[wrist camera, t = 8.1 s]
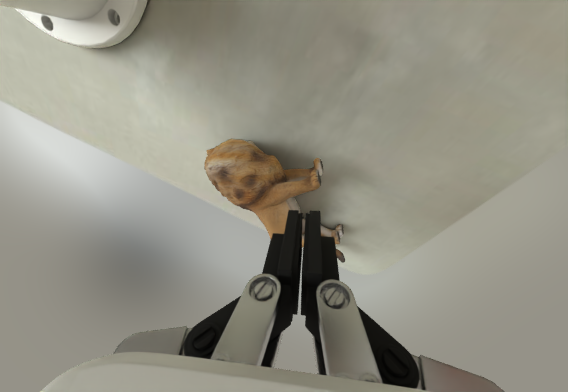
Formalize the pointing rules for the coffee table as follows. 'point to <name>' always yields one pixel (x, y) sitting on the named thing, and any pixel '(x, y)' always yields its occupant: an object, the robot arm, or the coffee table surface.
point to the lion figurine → (263, 184)
